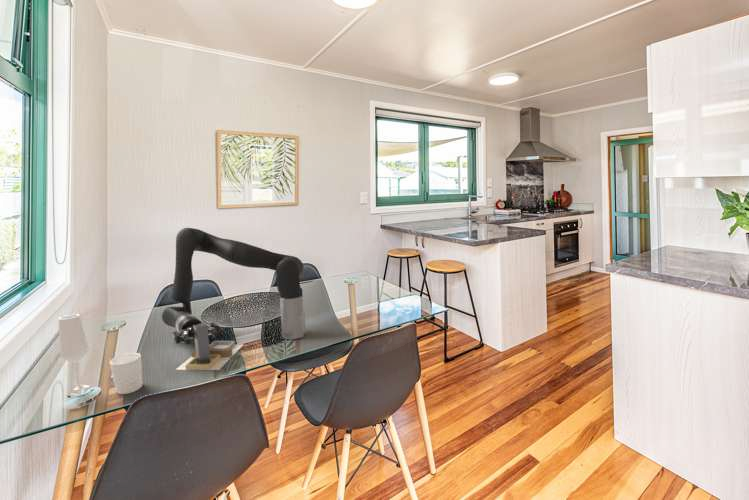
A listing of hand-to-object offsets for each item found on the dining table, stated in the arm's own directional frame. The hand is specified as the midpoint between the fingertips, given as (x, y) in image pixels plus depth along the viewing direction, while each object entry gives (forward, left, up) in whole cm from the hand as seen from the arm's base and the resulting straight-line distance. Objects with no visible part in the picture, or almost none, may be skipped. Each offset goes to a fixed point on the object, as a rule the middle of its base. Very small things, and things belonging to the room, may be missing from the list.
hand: (203, 338), depth 122 cm
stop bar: (+1, -1, -10) cm, 10 cm away
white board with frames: (+1, -7, -11) cm, 13 cm away
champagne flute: (+31, +15, -11) cm, 37 cm away
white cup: (+17, +13, -11) cm, 24 cm away
